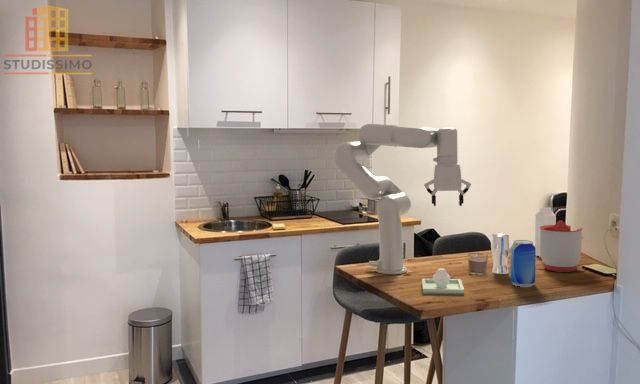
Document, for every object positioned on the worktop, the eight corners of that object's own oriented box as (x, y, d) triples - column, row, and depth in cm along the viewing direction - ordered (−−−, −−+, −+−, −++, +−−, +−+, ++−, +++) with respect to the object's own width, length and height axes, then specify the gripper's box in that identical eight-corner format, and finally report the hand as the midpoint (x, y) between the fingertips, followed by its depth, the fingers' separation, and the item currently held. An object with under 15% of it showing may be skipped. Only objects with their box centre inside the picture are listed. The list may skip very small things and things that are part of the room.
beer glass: (510, 274, 209) (510, 237, 208) (492, 274, 211) (492, 236, 209) (508, 270, 216) (508, 233, 215) (490, 270, 217) (490, 233, 216)
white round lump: (450, 289, 189) (449, 270, 188) (432, 288, 191) (432, 269, 190) (450, 285, 195) (450, 266, 194) (433, 284, 197) (433, 265, 196)
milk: (555, 257, 237) (556, 208, 235) (543, 258, 235) (544, 208, 233) (546, 254, 243) (546, 206, 240) (534, 255, 241) (535, 207, 239)
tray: (422, 293, 187) (422, 288, 187) (422, 283, 201) (422, 278, 201) (464, 294, 185) (464, 289, 185) (460, 283, 199) (460, 279, 198)
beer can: (529, 281, 199) (529, 239, 198) (539, 287, 191) (539, 243, 189) (506, 282, 199) (507, 239, 197) (515, 288, 191) (516, 244, 189)
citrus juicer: (594, 271, 211) (595, 221, 209) (557, 275, 206) (558, 224, 204) (565, 263, 226) (566, 216, 224) (530, 266, 221) (531, 218, 219)
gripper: (424, 161, 200) (424, 207, 202) (471, 160, 198) (472, 206, 199) (423, 160, 208) (424, 204, 209) (469, 159, 205) (469, 204, 207)
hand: (447, 205), depth 204 cm, fingers open, 9 cm apart
